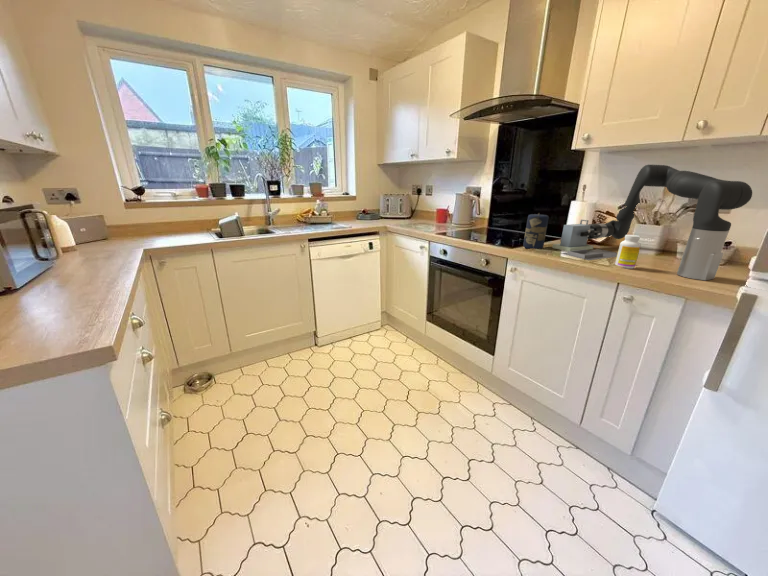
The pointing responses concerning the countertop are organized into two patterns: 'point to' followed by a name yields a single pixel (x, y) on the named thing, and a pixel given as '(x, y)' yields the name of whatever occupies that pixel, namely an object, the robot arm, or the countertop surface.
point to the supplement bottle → (628, 252)
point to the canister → (535, 231)
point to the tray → (572, 247)
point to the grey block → (574, 235)
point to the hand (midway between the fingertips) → (573, 232)
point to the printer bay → (591, 254)
